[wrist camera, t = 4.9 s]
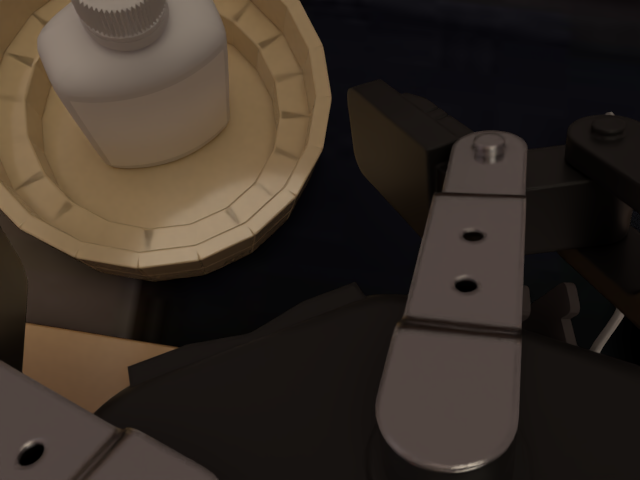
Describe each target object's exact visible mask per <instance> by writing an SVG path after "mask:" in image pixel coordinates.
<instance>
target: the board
mask: <svg viewBox="0 0 640 480" xmlns="http://www.w3.org/2000/svg"><path fill="white" fill-rule="evenodd" d="M176 348H179V347H174V346H168V345H162V344H156V343H150V342H144V341H137V340H131V339H125V338H119V337H113V336H107V335H101V334H95V333H88V332H82V331H76V330H70V329H64V328H58V327H52V326H45V325H39V324H33V323H27V322H26V324H25V339H24V354H23V370H22V373H24V374H25V375H27V376H29V377H30V378H32V379H34V380H36V381H37V382H39V383H41V384H42V385H44V386H46V387H48V388H49V389H51V390H53V391H55V392H56V393H58V394H60V395H61V396H63V397H65V398H67V399H68V400H70V401H72V402H74V403H75V404H77V405H79V406H80V407H82V408H84V409H86V410H87V411H89V412H91V413H94V412H95V411H96V410H97V409H99V408H100V407H101V406H102V405H103V404H104V403H105V402H107V401H108V400H109V399H110V398H112V397H113V396H114V395H116V394H117V393H119V392H120V391H121V390H123V389H125V388H126V387H128V386H129V385H130V382H129V375H128V366H131V365H133V364H136V363H139V362H141V361H144V360H147V359H150V358H152V357H155V356H158V355H160V354H163V353H166V352H168V351H171V350H174V349H176Z"/></svg>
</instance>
